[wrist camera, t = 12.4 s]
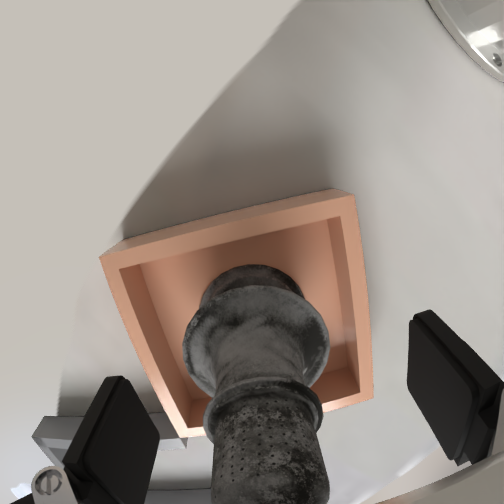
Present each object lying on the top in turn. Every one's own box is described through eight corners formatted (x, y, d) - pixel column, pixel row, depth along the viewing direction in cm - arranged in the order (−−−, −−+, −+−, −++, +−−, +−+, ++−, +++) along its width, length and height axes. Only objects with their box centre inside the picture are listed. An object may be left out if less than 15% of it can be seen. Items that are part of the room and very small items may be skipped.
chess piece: (169, 320, 16) (90, 545, 4) (246, 231, 15) (271, 459, 3) (258, 381, 17) (278, 592, 5) (335, 307, 16) (456, 512, 4)
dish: (332, 188, 15) (353, 194, 12) (356, 366, 18) (373, 397, 15) (122, 239, 15) (98, 256, 12) (186, 403, 18) (180, 437, 15)
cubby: (185, 409, 18) (179, 438, 16) (230, 492, 21) (230, 516, 18) (44, 416, 18) (31, 436, 16) (107, 493, 21) (101, 512, 19)
